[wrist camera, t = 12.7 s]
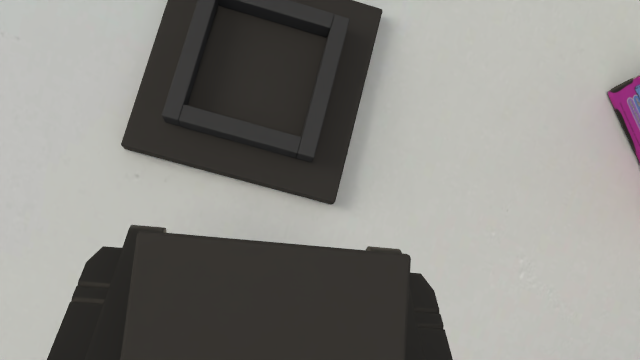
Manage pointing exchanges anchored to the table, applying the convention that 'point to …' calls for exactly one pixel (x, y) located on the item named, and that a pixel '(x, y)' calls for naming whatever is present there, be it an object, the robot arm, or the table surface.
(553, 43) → the table surface
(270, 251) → the black block
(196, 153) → the base pad
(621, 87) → the candy bar box
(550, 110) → the table surface
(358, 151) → the table surface
